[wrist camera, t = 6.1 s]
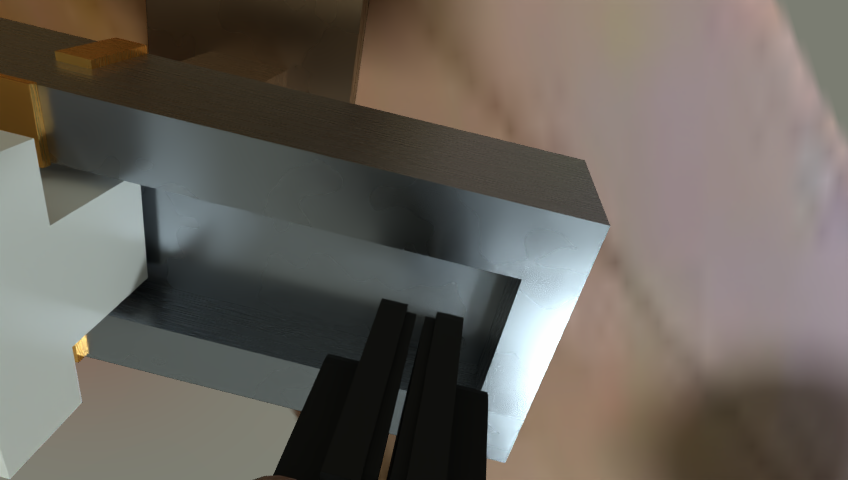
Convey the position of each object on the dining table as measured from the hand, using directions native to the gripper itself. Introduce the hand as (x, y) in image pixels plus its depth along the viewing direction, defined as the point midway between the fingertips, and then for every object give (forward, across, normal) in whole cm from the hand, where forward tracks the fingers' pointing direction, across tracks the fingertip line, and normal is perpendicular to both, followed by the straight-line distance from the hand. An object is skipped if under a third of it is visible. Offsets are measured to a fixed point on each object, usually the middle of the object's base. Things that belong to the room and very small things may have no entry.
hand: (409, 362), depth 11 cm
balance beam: (+12, +8, 0) cm, 15 cm away
